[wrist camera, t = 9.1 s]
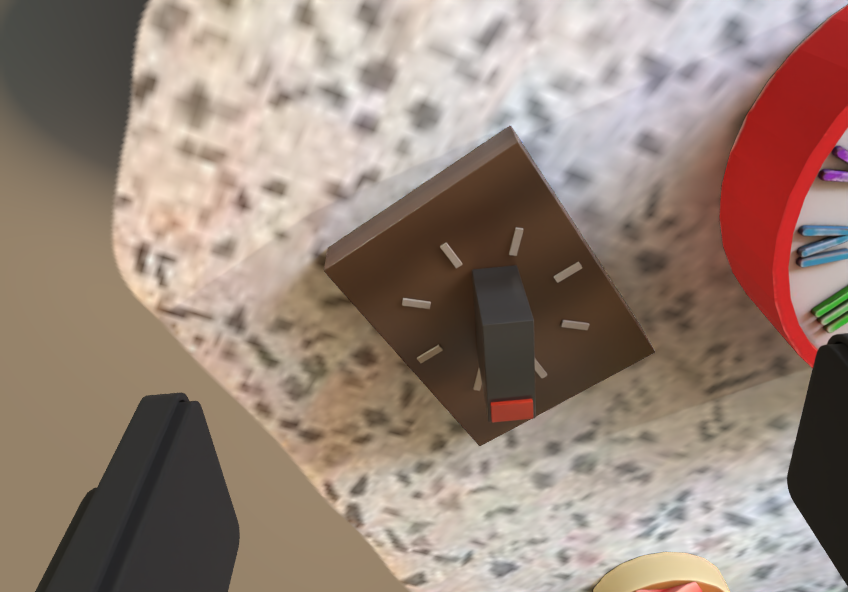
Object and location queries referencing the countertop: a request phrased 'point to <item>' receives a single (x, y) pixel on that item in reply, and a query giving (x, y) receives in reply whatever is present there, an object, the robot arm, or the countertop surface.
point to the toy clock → (795, 193)
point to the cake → (664, 575)
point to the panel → (453, 287)
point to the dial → (504, 343)
